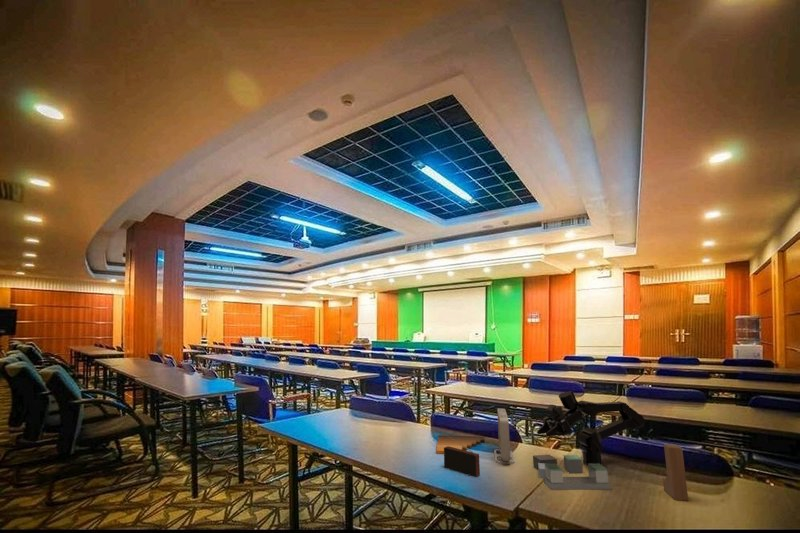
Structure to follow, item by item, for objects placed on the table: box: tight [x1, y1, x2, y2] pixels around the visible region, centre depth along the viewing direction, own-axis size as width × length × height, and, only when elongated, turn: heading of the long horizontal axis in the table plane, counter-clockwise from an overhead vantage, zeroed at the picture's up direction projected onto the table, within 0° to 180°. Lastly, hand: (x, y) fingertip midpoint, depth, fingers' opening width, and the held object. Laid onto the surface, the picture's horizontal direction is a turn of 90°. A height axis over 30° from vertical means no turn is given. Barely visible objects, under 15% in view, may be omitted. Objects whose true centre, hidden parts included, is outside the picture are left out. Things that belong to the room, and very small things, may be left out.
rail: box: [543, 463, 612, 490], centre depth 150 cm, size 23×7×7 cm, turn 90°
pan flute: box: [436, 434, 486, 455], centre depth 198 cm, size 25×3×25 cm
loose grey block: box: [532, 454, 558, 471], centre depth 167 cm, size 8×6×5 cm
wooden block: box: [662, 443, 689, 502], centre depth 142 cm, size 9×4×18 cm, turn 167°
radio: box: [440, 430, 481, 478], centre depth 166 cm, size 19×3×15 cm, turn 47°
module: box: [563, 454, 584, 474], centre depth 164 cm, size 6×4×6 cm
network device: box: [493, 408, 516, 465], centre depth 184 cm, size 26×9×20 cm, turn 168°
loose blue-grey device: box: [537, 463, 545, 480], centre depth 159 cm, size 5×7×4 cm
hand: (541, 434), depth 171 cm, fingers open, 9 cm apart
